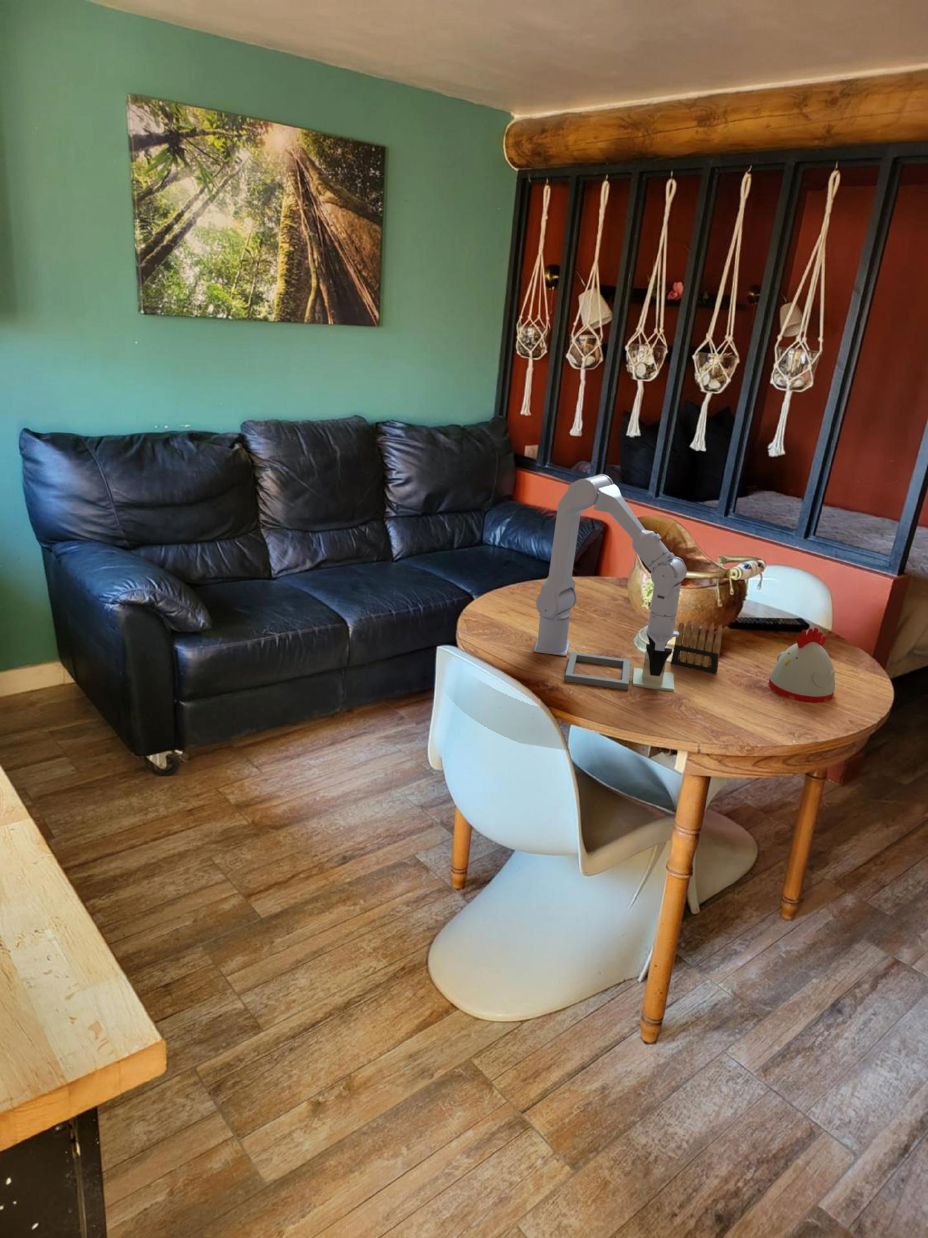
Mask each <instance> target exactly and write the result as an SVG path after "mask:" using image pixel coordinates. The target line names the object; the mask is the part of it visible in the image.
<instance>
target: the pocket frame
mask: <svg viewBox="0 0 928 1238" xmlns="http://www.w3.org/2000/svg"><path fill="white" fill-rule="evenodd" d="M577 662H583V663H590V664H598V665H605V666H613V667H620V668H622V673H621V679H618V678H617V679H616V678H609V677H603V676H595V675H589V674H588V675H587V674H582V673H581V674H580V673H574V672H575V668H576V664H577ZM630 669H631V659H627V658H620V657H613V656H606V655H605V656H604V655H598V654H589V653H583V652H576V651H571V652H570V655H569V659H568V663H567V667H566V671H565V675H564V676H565V677H564V682H569V683H576V684H583V685H590V686H597V687H598V686H599V687H605V688H612V689H619V690H625V691H628V690H629V683H630V672H631V671H630Z"/></svg>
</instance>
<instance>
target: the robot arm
mask: <svg viewBox="0 0 928 1238" xmlns="http://www.w3.org/2000/svg"><path fill="white" fill-rule="evenodd" d="M592 506H593V510H594V511H599V512H604V513H608V514H609V515H610V516H611V517H612V518H613V519H614V520H615V522H616V523H618V525H619V526H620V527H621V528H622V529H623V530H624V531H625V533H626V534H627V535H628V536H629V537H630V538H631V539H632V541H631V542H632V544H631V546H632V549H633V551H634V552H635V553H636V555H637V556H638V557H639V558H640V560H641V561H642V562H643V563H644V565H645V566H646V567H647V568H648V570H649V571H651V572H650V579H651V582H652V584H653V590H652V597H651V603H650V609H649V610H650V611H649V618H648V624H647V628H646V629H645V630H646V631H645V632H646V633H645V634H646V636H647V639H648V643H646V644H645V649H646V650H645V651H647V653H648V656H649V664H650V675H652V676H660V674H661V672H662V670H663V667H664V664H665V662H667V659H668V658H669V657H670V656H671V654H673V648H670V647H666V646H667V644H668V643H669V642H670V640H672V639H673V638H676V637H679V632H678V630H675V626H676V621H677V619H676V618H677V613H678V608H679V607H678V606H679V601H680V592H681V586H682V583H681V582H682V581H683V580H684V579H685V578H686V576H687V573H688V572H687V571H688V569H687V566H686V564H685V561H684V559H682V558H681V557H678V556H675V554H674V553H673V552H671V551H669V549H668V548H667V547H666V545H665V544H664V543H663V542H662V540H661V539H662V536H661V535H660V534H659V533H655V531H653V530H648V529H645V527H644V526H643V525H642V523H641V521H640V520H639V519H638V518H637V516H636V515H635V513H634V512H633V510H632V509H631V507H630V506H629V505H628V503H627V502H626V500H625V499H624V497H623V496H622V494H621V491H620V488H619V486H617V485H616V484H615V483H614V482H613V479H612V478H611V477H609V475H606V474H603V473H601V474H600V473H598V474H597V475H594V476H590V477H586V478H580V479H578V480H575V481H574V482H572V483H570V484H569V485H568V488H567V490H566V492H565V493H564V494H563V496H562V497H561V499H560V500H559V501H558V504H557V511H556V518H555V527H554V531H553V532H554V534H553V539H552V540H553V541H552V548H551V556H550V557H551V558H550V564H549V571H548V576H547V577H546V579H545V580H544V581H543V583H542V584H541V587H540V592H539V594H538V596H537V597H536V600H535V607H536V610H537V612H538V613H539V619H538V620H539V621H538V622H539V624H538V632H537V640H536V642H535V646H534V648H533V653H538V654H539V653H541V654H545V655H546V654H547V655H556V656H562V657H567V655H568V652H569V647H570V643H571V641H570V640H568V639H569V638H568V637H569V629H570V619H571V618H570V617H571V610H572V608H573V607H575V605H576V604H577V601H578V597H577V592H576V581H575V580H574V578H573V570H574V563H575V557H576V549H577V542H578V535H579V528H580V521H581V514H582V513H583V512H585V511H587V510H589V508H591V507H592ZM665 665H666V664H665Z"/></svg>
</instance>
